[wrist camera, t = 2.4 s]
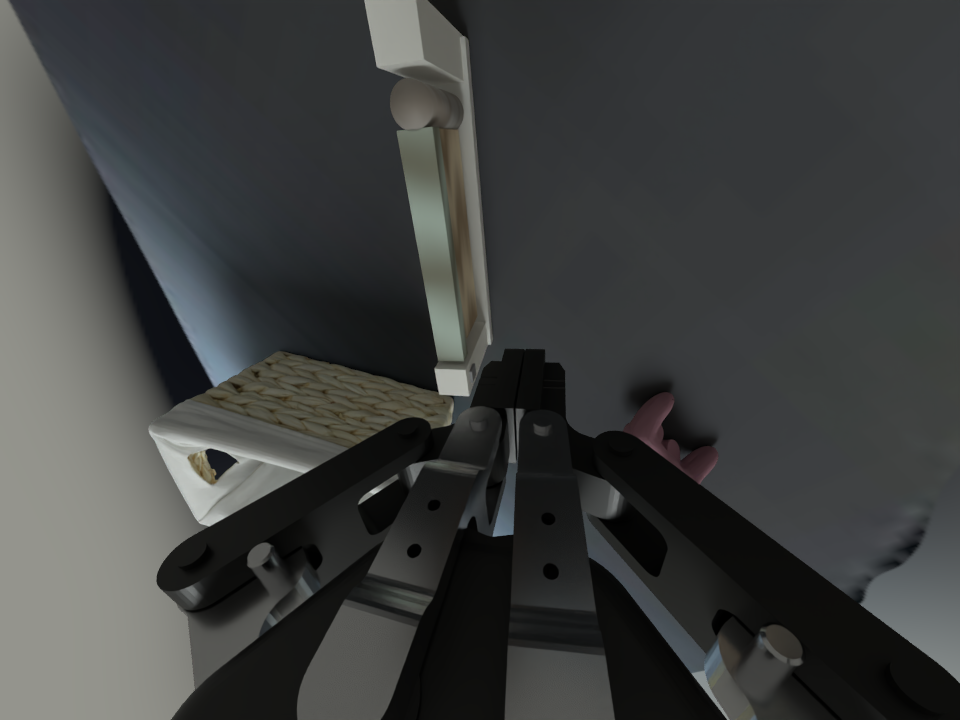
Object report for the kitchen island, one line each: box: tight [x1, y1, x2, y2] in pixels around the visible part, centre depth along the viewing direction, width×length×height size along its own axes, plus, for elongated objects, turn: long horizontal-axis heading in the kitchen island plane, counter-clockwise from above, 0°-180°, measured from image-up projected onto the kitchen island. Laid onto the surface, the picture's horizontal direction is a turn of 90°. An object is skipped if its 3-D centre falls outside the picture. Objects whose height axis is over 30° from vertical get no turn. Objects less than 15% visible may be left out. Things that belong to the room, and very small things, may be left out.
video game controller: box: [623, 392, 718, 484], centre depth 34 cm, size 10×5×7 cm, turn 43°
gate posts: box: [364, 0, 493, 396], centre depth 25 cm, size 22×3×9 cm, turn 5°
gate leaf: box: [390, 78, 478, 362], centre depth 24 cm, size 16×2×7 cm, turn 5°
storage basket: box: [149, 351, 454, 526], centre depth 37 cm, size 24×16×15 cm
